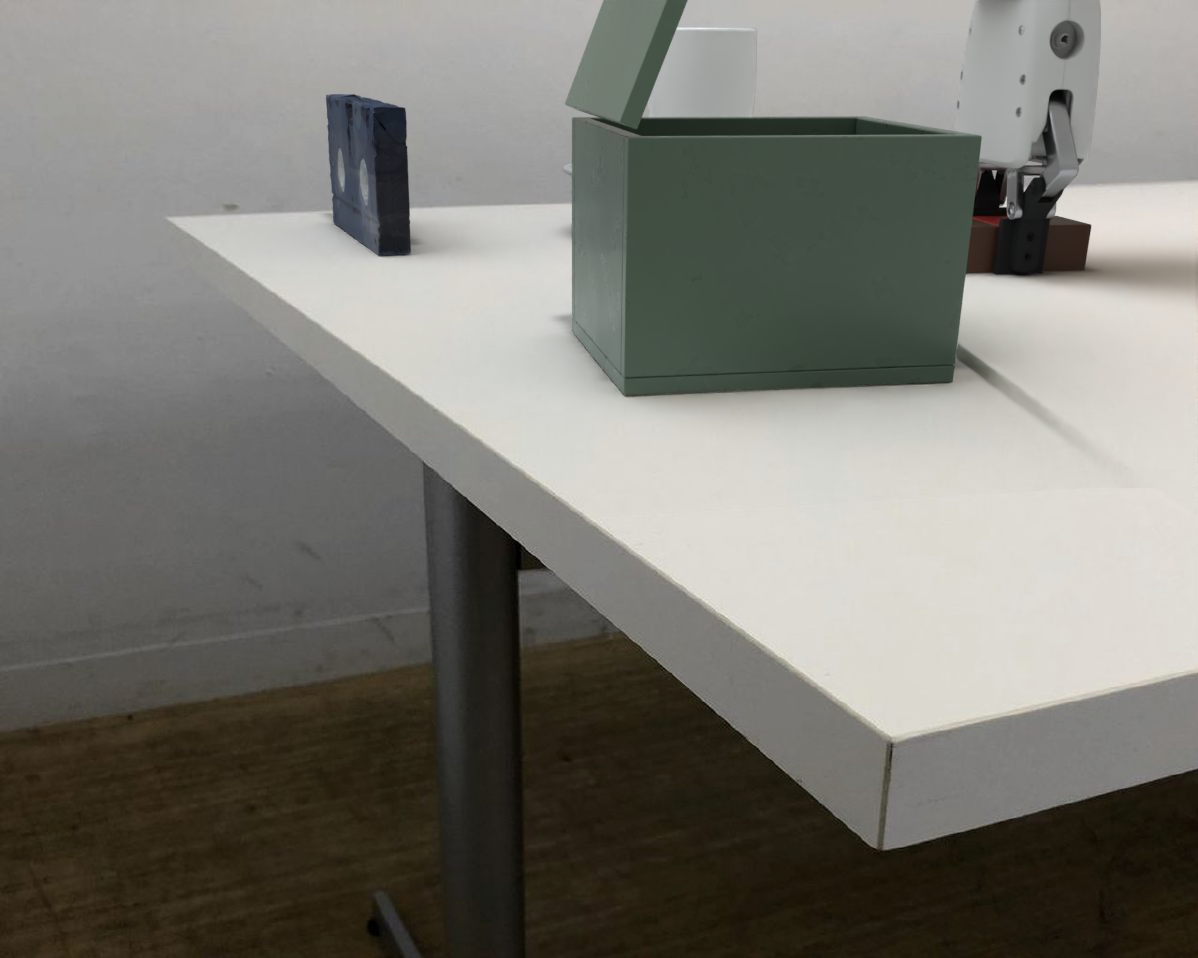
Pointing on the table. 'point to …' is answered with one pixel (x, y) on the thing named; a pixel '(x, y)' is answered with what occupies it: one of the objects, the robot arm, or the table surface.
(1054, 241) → the chocolate bar
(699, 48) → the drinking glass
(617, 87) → the bin lid
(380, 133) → the vhs cassette tape
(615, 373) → the bin
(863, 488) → the table surface
